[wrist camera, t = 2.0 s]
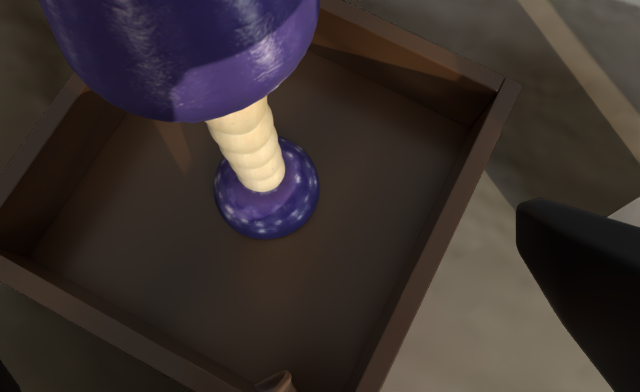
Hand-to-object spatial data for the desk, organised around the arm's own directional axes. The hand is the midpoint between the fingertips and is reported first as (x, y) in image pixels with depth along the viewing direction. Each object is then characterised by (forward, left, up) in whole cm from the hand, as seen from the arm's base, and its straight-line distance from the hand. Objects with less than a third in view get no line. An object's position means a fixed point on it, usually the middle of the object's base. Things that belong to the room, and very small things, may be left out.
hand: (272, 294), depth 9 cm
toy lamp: (+4, -4, -12) cm, 13 cm away
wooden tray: (+4, -4, -12) cm, 13 cm away
